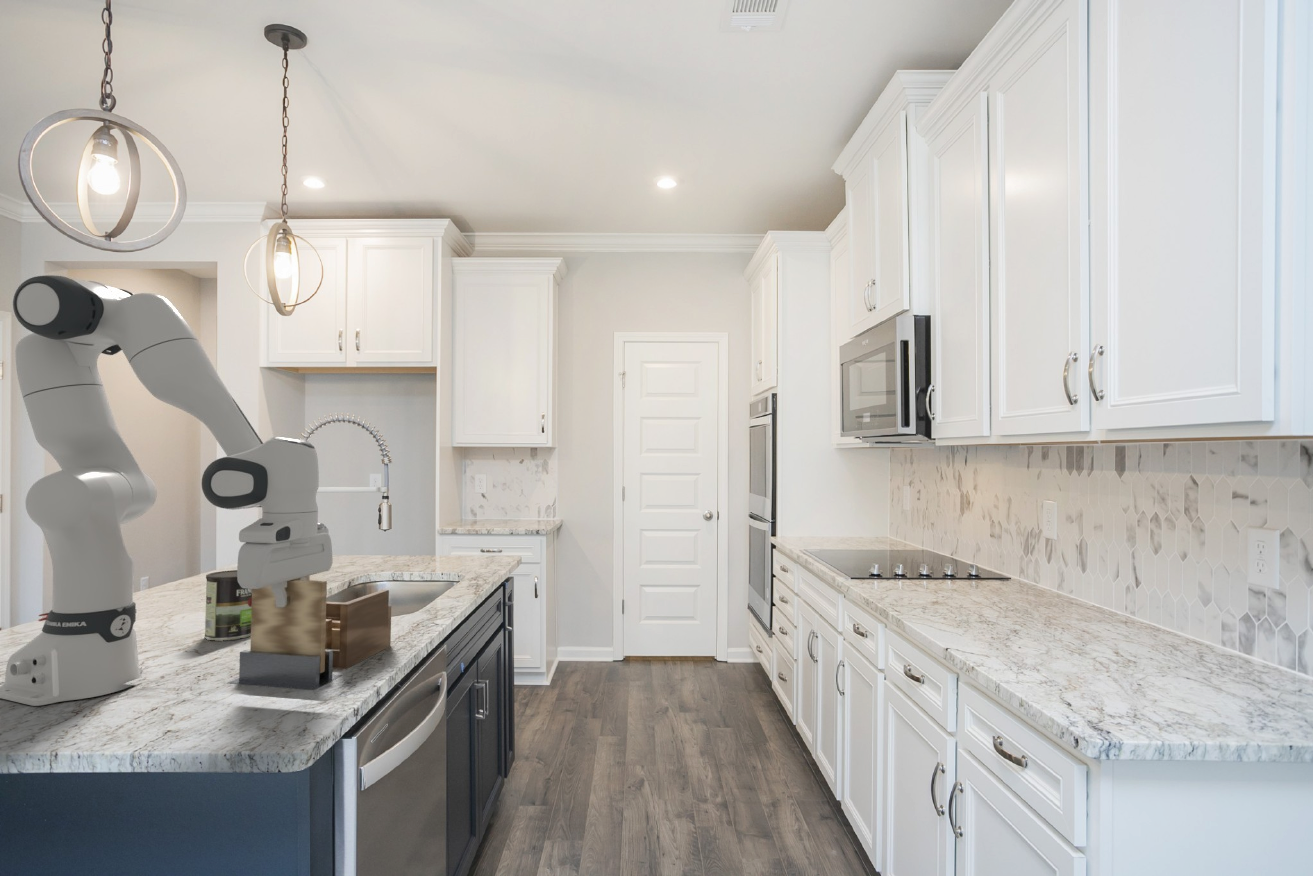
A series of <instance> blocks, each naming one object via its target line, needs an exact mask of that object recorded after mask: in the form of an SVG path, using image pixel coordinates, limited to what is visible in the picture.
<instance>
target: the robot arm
mask: <svg viewBox="0 0 1313 876" xmlns="http://www.w3.org/2000/svg"><path fill="white" fill-rule="evenodd" d="M12 309H13V312H14V316H15V317H16V319H17V321H18V322H19V323H20V325H21V326H22V327H24V328H25V329H26V330H27V331H29V332H32V333H30V334H27V335H26V336H23V337H22V338H21V339H20V340H19V341H18V343H16V347H15V365H16V374H17V379H18V384H19V388H20V393H21V395H22V399H23V402H24V406H25V409H26V412H27V415H28V418H29V422H30V425H31V429H32V430H33V434H34V437H35V440H36V442H37V444H39V446H40V447H41V448H43V450H45V451H47V452H48V453H49V454H50V455H51V456H52V457H53V459H54V460H55V461H56V463H57V464H58V466H59V467H60V469H61V470H58V471H55V472H52V473H50V474H48V475H46V476H45V475H44V476H43V477H41V478H39V479H38V480H37V481H35V482H34V483H33V485H32V486H31V487H30V488H29V489H28V491H27V494H26V497H25V510H26V512H27V514H28V516H29V518H30V520H31V521H32V522H34V523H35V524H36V525H38V527H39V528H40V529H41V531H42V533H43V536H44V538H45V541H46V544H47V548H48V551H49V556H50V558H51V565H52V603H51V604H52V605H51V606H52V609H51V610H50V611H49V612H45V613H41V614H39V615H38V617H42V618H40V619H38V622H42V621H45V622H44V624H43V626H42V629H41V633H39V634H38V635H37V636H36V637H34V638H33V639H32V640H30V641H29V642H28V643H26V644H25V645H23V646H21V648H19V649H17V650H16V651H14V653H12V654H11V655H10V656H9V659H8V660H7V662H6V666H5V667H6V668H5V675H4V680H1V681H0V699H1V700H2V699H3V700H7V701H11V702H16V703H19V704H24V705H28V706H32V707H39V706H45V705H50V704H56V703H59V702H67V701H74V700H83V699H88V698H94V697H100V696H104V695H108V694H111V693H112V694H113V693H115V692H120V691H122V690H125V689H128V688H131V687H132V686H134V684H126V683H129V682H132V681H135V680H138V679H141V678H142V673H143V665H141V664H139V661H140V660H139V649H138V643H137V641H138V640H137V632H136V630H135V628H134V624H135V622H136V619H137V618H136V615H137V607H136V602H135V601H134V580H135V577H134V576H135V560H134V558H133V557H132V555H131V554H130V553H129V552H128V550H127V548H126V545H125V543H124V539H123V534H122V529H121V525H124V524H128V523H131V522H133V521H135V520H137V519H138V518H140V517H141V516H143V515H145V514H146V513H147V512H148V511H149V510H150V509H152V507H153V506H154V504H155V503H156V499H157V495H158V491H157V485H156V484H155V482H154V480H153V479H152V478H151V477H150V476H149V475H148V474H147V473H145V472H144V471H143V470H142V468H141V467H140V466H139V463H138V461H137V460H136V458H135V457H134V456H133V455H134V454H133V453H132V452H131V450H130V448H129V447H128V445H127V444H126V442H125V440H124V438H123V437H122V435H121V433H120V431H119V429H118V426H117V423H116V421H115V417H114V415H113V412H112V409H111V406H110V402H109V400H108V396H107V393H106V391H105V387H104V384H103V381H102V378H101V376H100V375H101V374H100V372H99V368H98V359H99V357H100V355H101V354H104V355H107V356H113V355H117V354H118V353H119V352H121V351H122V352H123V355H124V356H125V358H126V360H127V362H128V363H129V366H130V367H131V369H132V371H133V372H134V374H135V375H136V378H137V379H138V380H139V381H140V383H141V384H142V385H143V386H144V388H145V389H146V390H147V391H148V392H149V393H150V394H151V395H152V397H154V398H156V399H157V400H159V401H161V402H163V403H166V404H168V405H169V406H173V407H175V408H177V409H180V410H182V411H183V412H185V413H187V414H189V415H191V416H193V417H194V418H196V419H197V420H199V421H200V422H202V423H203V424H204V425H205V426H206V428H208V430H209V431H210V433H211V434H212V435H213V437H214V438H215V440H216V442H217V443H218V444H219V446H220V448H221V449H222V450H223V452H224V453H225V455H226V456H223V457H221V458H217V459H215V460H213V461H212V462H211V463H209V464H208V465H207V467H206V468H205V470H204V471H203V473H202V477H201V489H202V493H203V494H204V497H205V498H206V500H207V501H208V502H209V503H211V505H213V506H215V507H217V508H220V509H226V510H233V511H234V510H241V509H243V510H244V509H251V508H252V509H253V508H262V509H261V510H262V514H261V515H262V518H259V519H257V520H256V521H254V522H253V523H251V524H250V525H248V526H246V527H244V528H242V529H240V531H239V533H238V541H239V542H240V543H243V544H242V545H241V546H240V548H239V550H238V556H237V579H238V583H239V585H240V586H241V587H242V588H248V589H259V588H263V587H267V586H271V589H272V591H273V593H274V595H275V597H276V606H277V607H285V606H288V605H290V596H287V594H286V591H285V588H286V587H287V581H290V580H307V579H306V578H307V577H308V576H313V575H317V574H320V573H325V572H328V571H330V570H331V568H332V566H333V559H334V558H333V546H332V539H331V536H330V535H329V529H328V528H327V526H326V525H325V524H324V523H321V522H319V523H318V518H319V515H318V514H319V508H318V504H317V493H318V490H319V482H320V479H319V477H320V476H319V459H318V454H317V449H316V448H315V446H314V445H313V444H311V443H310V442H308V441H305V440H302V439H297V438H291V437H284V436H274V437H270V438H269V439H268V438H267V440H266V441H264V442H263V441H262V438H260V436H259V435H258V433H257V432H256V430H255V429H254V427H253V426H252V424H251V423H250V421H249V419H248V418H247V416H246V415H245V413H244V412H243V410H242V409H241V407H240V406H239V404H238V403H237V402H236V400H235V399H234V398H233V397H232V395H231V393H230V392H229V390H228V388H227V387H226V385H225V384H224V382H223V380H222V379H221V377H220V376H219V374H218V373H217V370H216V369H215V367H214V365H213V364H212V362H211V360H210V358H209V357H208V355H207V353H206V351H205V349H204V347H203V346H202V344H201V341H199V338H198V337H197V336H196V333H195V332H194V331H193V329H192V328H191V326H190V324H189V323H188V322H187V321H186V320H185V318H184V317H183V315H182V314H181V313H180V312H179V311H178V309H177V308H176V307H175V306H174V305H173V304H172V303H171V302H170V301H169V300H168V299H167V298H166V297H164V296H161V295H159V294H156V293H151V292H139V293H133V292H130V291H128V290H125V289H122V288H117V287H114V286H111V285H108V284H104V283H100V282H96V281H92V280H82V279H76V278H69V277H66V276H62V275H55V274H54V275H49V274H48V275H47V274H46V275H38V276H37V275H36V276H32V277H31V278H28V279H26V280H24V281H23V282H22V283H21V284H19V286H18V287H17V289H16V290H15V292H14V295H13V299H12ZM43 616H44V617H43Z"/></svg>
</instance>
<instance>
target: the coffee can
mask: <svg viewBox="0 0 1313 876" xmlns="http://www.w3.org/2000/svg"><path fill="white" fill-rule="evenodd" d="M205 579H206V588H205V589H206V591H205V593H206V594H205V616H204V617H205V619H204V620H205V621H204V622H205V623H204V625H205V626H204V639H205V638H206V639H207V640H206V639H205V640H206V641H210V640H215V641H214V642H224V641H223V640H228V641H235V640H236V641H237V640H241V639H240V638H242V639H246V638H249V636H250V637H251V609H252V589H248V588H242V587H241V586H240V585H239V583H238V579H237V570H235V569H233V570H223V571H216V572H211V573H207V574H206V575H205Z"/></svg>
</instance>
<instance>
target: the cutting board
mask: <svg viewBox="0 0 1313 876" xmlns="http://www.w3.org/2000/svg"><path fill="white" fill-rule="evenodd" d="M327 587H328V581H327V580H314V579H313V580H312V579H311V580H310V579H306V580H290V581H287V587H286V588H285V591H286V594H287V596H290V605H288V606H285V607H277V606H276V597H275V595H274V593H273V591H272V589H271V586H267V587H263V588H259V589H252V609H251V636H250V647H249V648H250V649H249V651H261V652H275V653H290V654H304V655H318V656H320V672H319V673H322V672H324V671H325V635H326V602H327V590H328V589H327Z"/></svg>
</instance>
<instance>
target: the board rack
mask: <svg viewBox="0 0 1313 876" xmlns="http://www.w3.org/2000/svg"><path fill="white" fill-rule="evenodd" d="M389 600H390V590H389V589H380V590H377V591H375V592H372V593H369V594H366V595H363V596H359V597H358V598H355V599H352V600H349V601H346V602H339V601H326V619H332V620H334V621H340V648H339V649H328V650H333V668H332V670H346V669H348V668H351V667H352V666H354V665H356V664H358V663H360V662H362V661H365V660H366V659H368V658H371V657H372V656H374V655H376V654H378V653H380V652H382V651H383V650H386V649H388V648H390V647H391V640H392V637H391V635H392V632H391V631H392V604H390V601H389ZM325 649H326V648H325Z"/></svg>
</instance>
